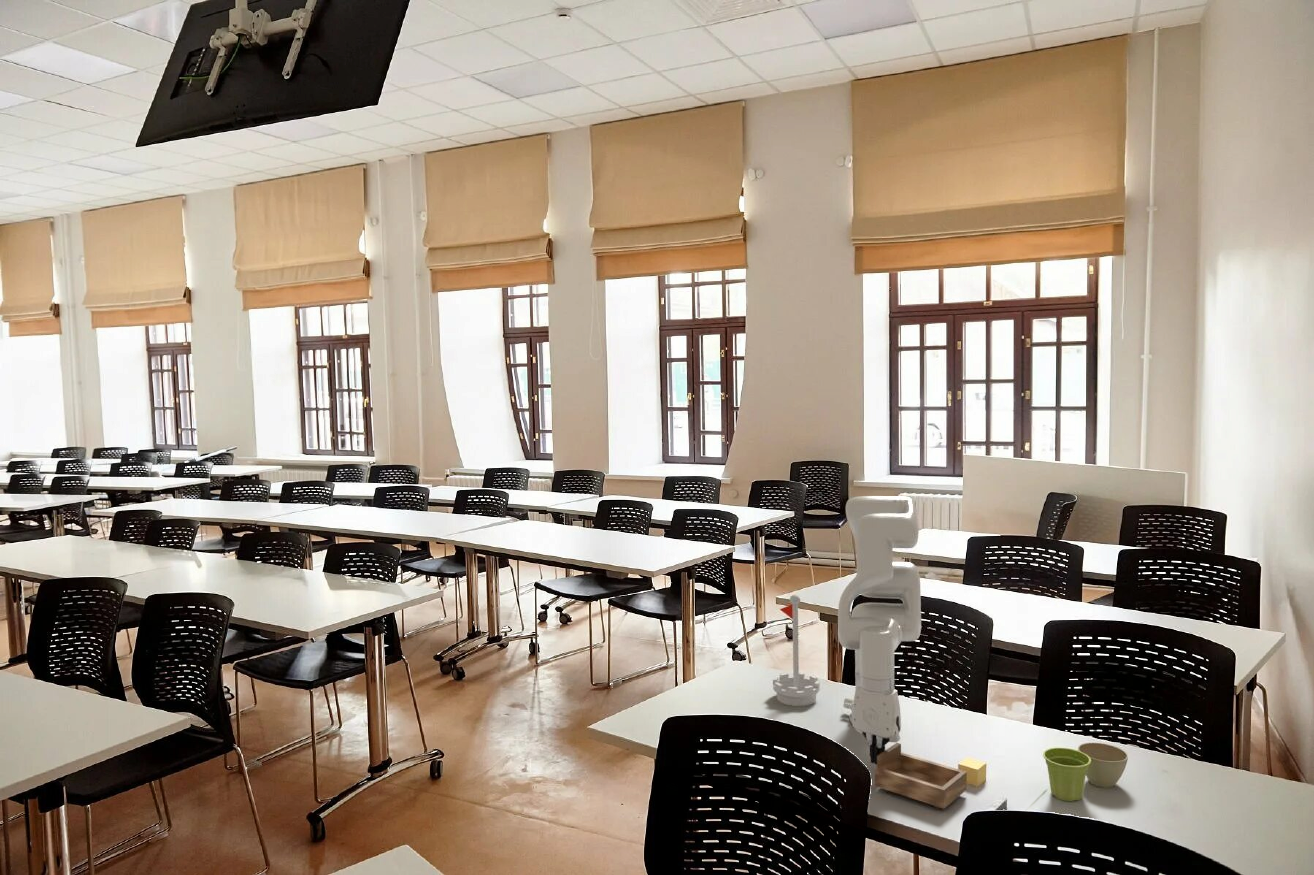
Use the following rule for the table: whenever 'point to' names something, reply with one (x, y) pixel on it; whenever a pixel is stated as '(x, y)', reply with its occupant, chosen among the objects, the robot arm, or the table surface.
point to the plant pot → (1066, 772)
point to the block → (973, 771)
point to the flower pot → (1104, 763)
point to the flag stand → (795, 670)
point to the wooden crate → (919, 778)
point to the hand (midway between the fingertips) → (877, 761)
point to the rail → (999, 804)
